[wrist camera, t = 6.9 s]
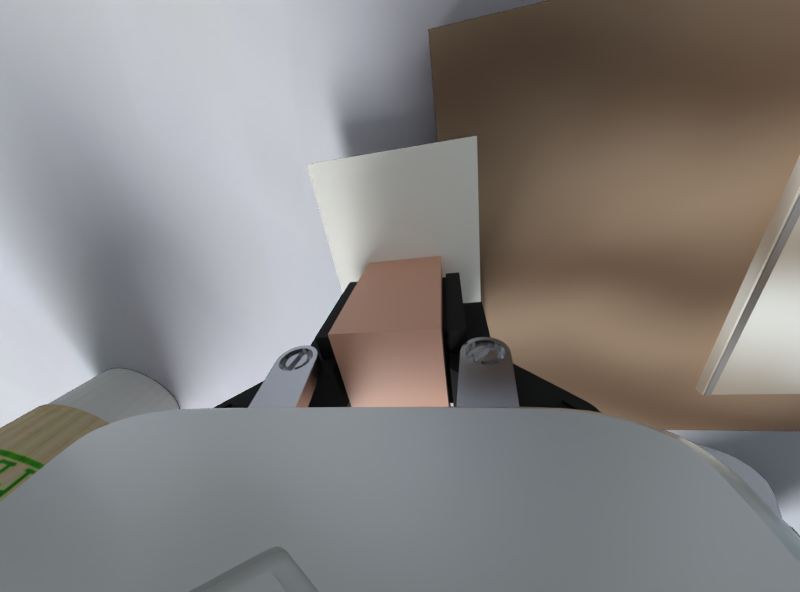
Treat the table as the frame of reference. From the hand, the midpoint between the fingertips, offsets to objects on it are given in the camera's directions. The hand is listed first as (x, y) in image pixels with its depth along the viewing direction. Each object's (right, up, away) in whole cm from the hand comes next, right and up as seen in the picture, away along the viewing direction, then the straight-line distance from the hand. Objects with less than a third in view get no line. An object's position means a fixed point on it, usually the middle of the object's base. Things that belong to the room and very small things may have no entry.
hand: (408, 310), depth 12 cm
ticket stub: (0, +1, +1) cm, 1 cm away
